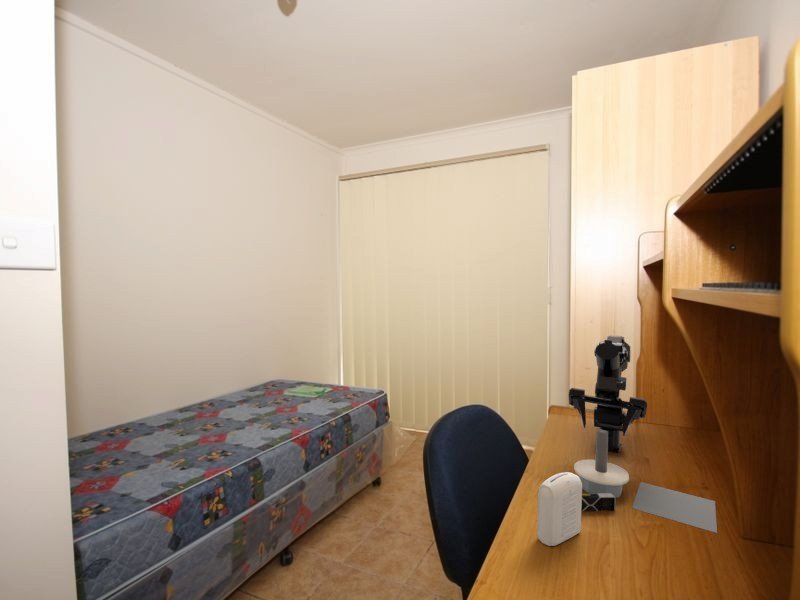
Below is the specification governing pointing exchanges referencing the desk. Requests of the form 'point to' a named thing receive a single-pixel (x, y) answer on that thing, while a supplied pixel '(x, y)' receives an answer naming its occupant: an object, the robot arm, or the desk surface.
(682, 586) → the desk surface
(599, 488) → the bowl
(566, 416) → the desk surface
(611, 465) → the lid
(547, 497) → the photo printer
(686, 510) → the mat
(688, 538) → the desk surface
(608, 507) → the graphics card
